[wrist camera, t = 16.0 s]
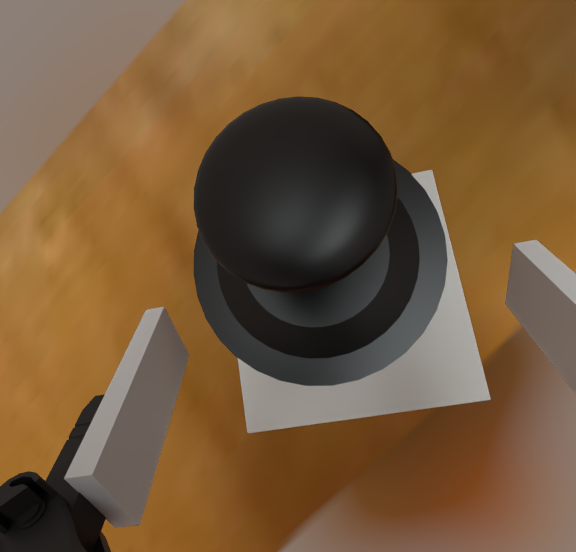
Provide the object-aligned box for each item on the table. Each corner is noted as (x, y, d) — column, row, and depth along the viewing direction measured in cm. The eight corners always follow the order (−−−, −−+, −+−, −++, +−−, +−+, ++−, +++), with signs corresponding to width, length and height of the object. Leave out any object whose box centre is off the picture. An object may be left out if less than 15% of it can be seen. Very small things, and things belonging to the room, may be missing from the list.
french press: (320, 397, 29) (229, 591, 6) (243, 304, 31) (-31, 200, 8) (435, 294, 29) (759, 116, 6) (350, 209, 31) (366, -149, 8)
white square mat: (429, 174, 31) (432, 169, 30) (485, 397, 28) (490, 399, 27) (222, 218, 33) (219, 214, 32) (250, 430, 30) (247, 433, 29)
